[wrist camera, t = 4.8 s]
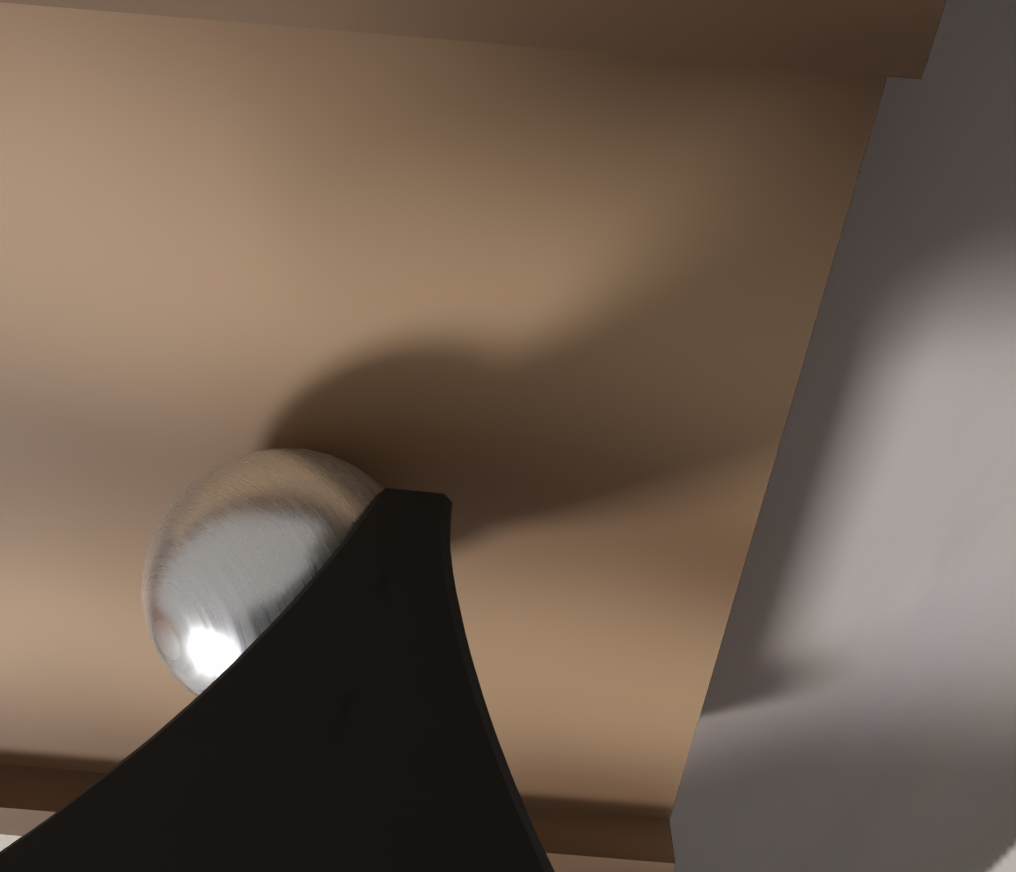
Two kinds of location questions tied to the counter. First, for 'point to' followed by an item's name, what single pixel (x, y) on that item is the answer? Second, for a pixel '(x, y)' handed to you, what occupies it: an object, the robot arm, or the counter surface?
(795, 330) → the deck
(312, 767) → the robot arm
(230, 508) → the ball
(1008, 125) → the counter surface
